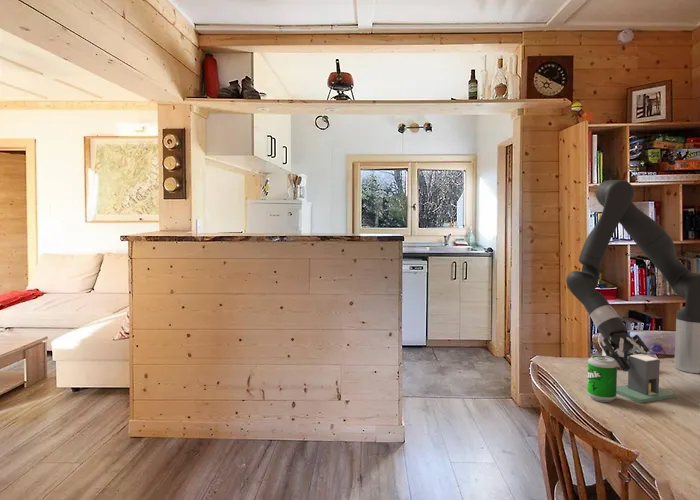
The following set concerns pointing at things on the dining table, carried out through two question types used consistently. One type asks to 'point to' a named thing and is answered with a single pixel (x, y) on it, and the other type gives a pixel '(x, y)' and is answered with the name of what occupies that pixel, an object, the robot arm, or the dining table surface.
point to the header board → (644, 398)
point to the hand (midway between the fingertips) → (638, 368)
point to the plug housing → (643, 373)
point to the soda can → (602, 378)
